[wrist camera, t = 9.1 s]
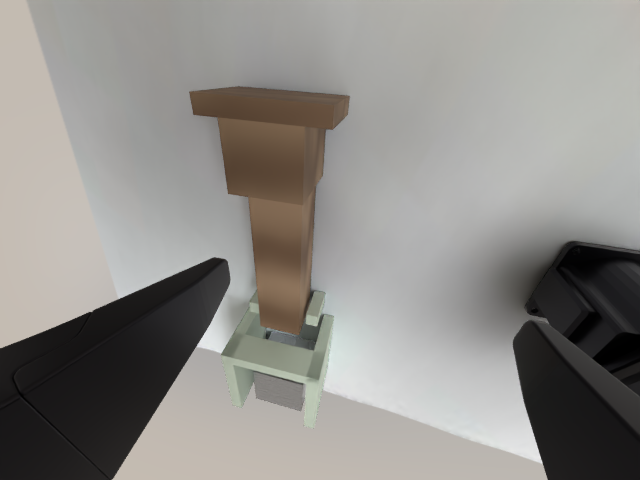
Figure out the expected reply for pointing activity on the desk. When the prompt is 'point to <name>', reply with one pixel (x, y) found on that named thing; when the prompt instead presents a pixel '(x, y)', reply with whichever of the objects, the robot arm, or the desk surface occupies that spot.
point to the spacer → (278, 387)
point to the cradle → (278, 357)
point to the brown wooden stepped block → (276, 183)
